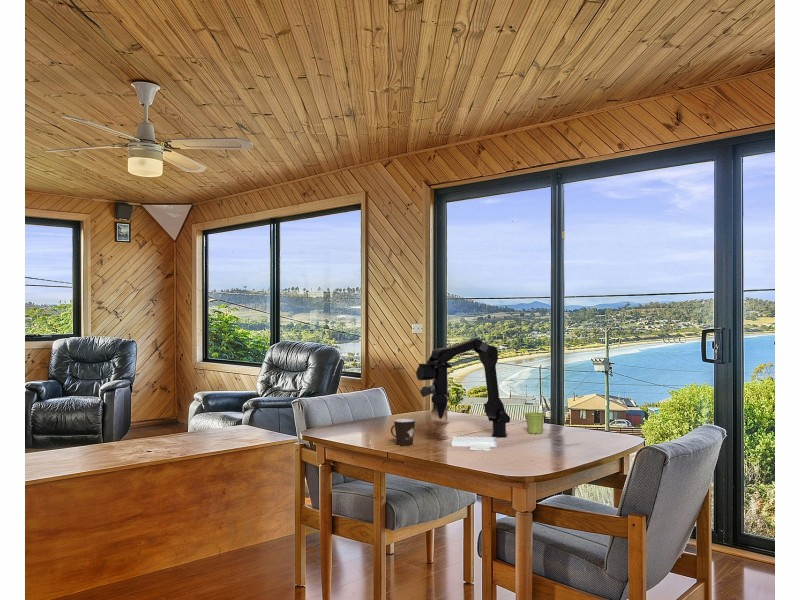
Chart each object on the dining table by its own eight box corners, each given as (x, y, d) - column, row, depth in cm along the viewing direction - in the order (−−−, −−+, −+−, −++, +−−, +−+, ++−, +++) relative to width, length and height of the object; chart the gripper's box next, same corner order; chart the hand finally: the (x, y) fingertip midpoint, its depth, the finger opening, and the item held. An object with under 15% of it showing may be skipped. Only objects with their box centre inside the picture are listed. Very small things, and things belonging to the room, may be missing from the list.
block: (433, 418, 258) (432, 409, 259) (447, 418, 257) (447, 409, 257) (431, 420, 254) (431, 410, 254) (445, 420, 252) (445, 410, 253)
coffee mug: (410, 442, 258) (410, 418, 259) (418, 446, 250) (418, 421, 251) (384, 444, 254) (384, 420, 254) (391, 448, 246) (391, 423, 246)
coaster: (470, 446, 248) (470, 444, 248) (490, 446, 247) (490, 444, 247) (469, 450, 240) (469, 448, 240) (490, 450, 239) (490, 448, 239)
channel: (453, 441, 259) (453, 436, 259) (496, 441, 257) (496, 437, 257) (451, 446, 249) (451, 441, 249) (496, 446, 247) (496, 441, 247)
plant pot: (520, 433, 277) (519, 413, 278) (532, 430, 284) (532, 411, 284) (537, 435, 270) (536, 415, 271) (550, 433, 277) (549, 413, 277)
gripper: (423, 377, 266) (423, 413, 266) (418, 381, 248) (419, 420, 247) (449, 377, 265) (449, 414, 264) (446, 381, 246) (447, 420, 246)
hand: (441, 417), depth 255 cm, fingers closed on block, 5 cm apart
